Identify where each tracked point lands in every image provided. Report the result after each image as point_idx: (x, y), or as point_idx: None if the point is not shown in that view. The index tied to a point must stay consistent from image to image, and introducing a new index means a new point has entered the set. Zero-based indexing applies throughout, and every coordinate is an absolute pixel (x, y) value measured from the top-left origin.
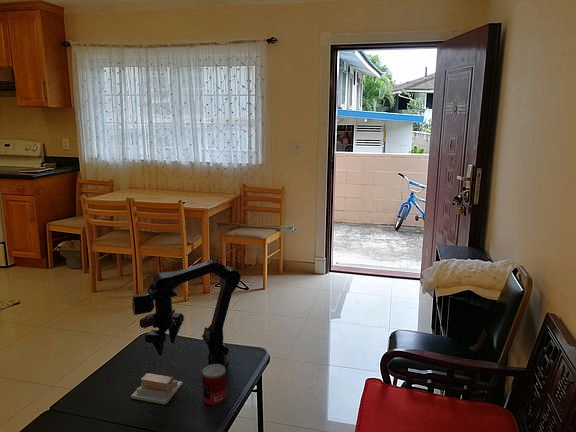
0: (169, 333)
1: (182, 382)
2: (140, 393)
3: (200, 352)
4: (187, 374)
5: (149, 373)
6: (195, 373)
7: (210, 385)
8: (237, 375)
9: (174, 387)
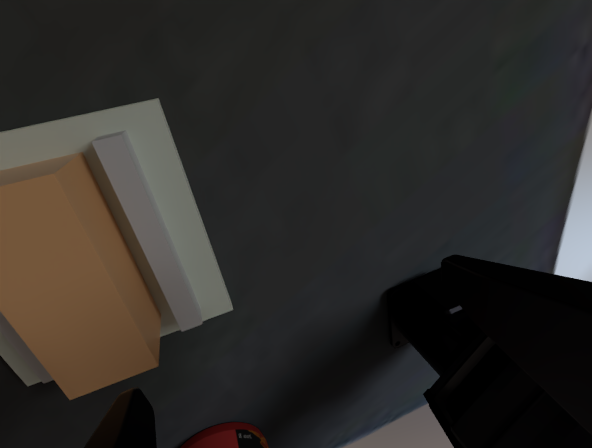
0: (585, 319)
1: (231, 308)
2: None
3: (498, 164)
4: (313, 254)
5: (65, 198)
6: (335, 276)
7: None
8: (381, 393)
9: (165, 319)
